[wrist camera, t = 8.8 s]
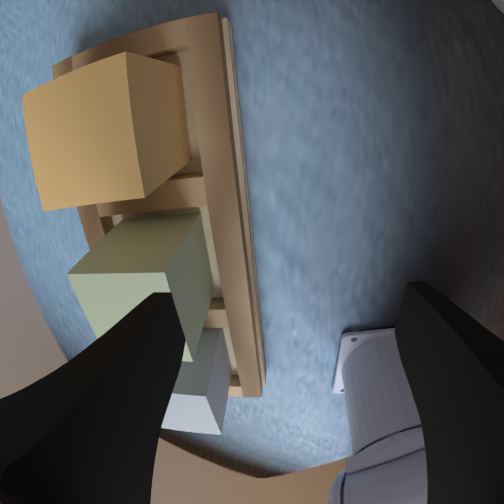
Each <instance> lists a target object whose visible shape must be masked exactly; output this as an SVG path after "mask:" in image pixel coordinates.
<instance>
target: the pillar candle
mask: <svg viewBox="0 0 504 504" xmlns="http://www.w3.org/2000/svg"><path fill="white" fill-rule="evenodd" d="M491 1H492V2H493V4H494V5H495V6H496V7H497V8H498V9H499V10H500V11H501V12H502V13H503V14H504V0H491Z"/></svg>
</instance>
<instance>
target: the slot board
mask: <svg viewBox="0 0 504 504" xmlns="http://www.w3.org/2000/svg"><path fill="white" fill-rule="evenodd" d="M123 52H129V53H134V54H138V55H142V56H145V57H149V58H153V59H157V60H160V61H164V62H167V63H170V64H174V65H177V66H180V67H182V74H183V85H184V95H185V105H186V115H187V124H188V133H189V141H190V149H191V157H192V161H191V162H189V163H188V164H187V165H185V166H184V167H183V168H181V169H180V170H179V171H178V172H176V173H175V174H174V175H172V176H171V177H170V178H169V179H167V180H166V181H165V182H164V183H162V184H161V185H160V186H159V187H158V188H156V189H155V190H154V191H153V192H151V193H150V194H149V195H148V196H147V197H145V198H139V199H130V200H122V201H113V202H105V203H98V204H90V205H83V206H77V209H78V213H79V216H80V220H81V223H82V226H83V230H84V233H85V236H86V239H87V242H88V245H89V248H90V250H91V249H92V248H93V247H94V246H95V245H96V244H97V243H98V242H99V241H100V240H101V239H102V238H103V237H104V236H105V235H106V234H107V233H108V232H110V231H111V230H112V229H113V228H114V227H115V226H116V225H117V224H118V223H119V222H120V221H121V220H123V219H133V218H143V217H153V216H164V215H175V214H186V213H199V212H201V215H202V221H203V227H204V232H205V238H206V244H207V249H208V255H209V260H210V265H211V271H212V276H213V281H214V286H215V289H214V292H213V296H212V299H211V302H210V306H209V309H208V312H207V316H206V319H205V322H204V326H203V328H223V330H224V335H225V340H226V344H227V349H228V353H229V358H230V362H231V367H232V373H231V379H230V385H229V391H228V396H232V397H262V386H266V364H265V354H264V343H263V333H262V323H261V313H260V303H259V292H258V282H257V272H256V262H255V252H254V242H253V232H252V222H251V212H250V202H249V192H248V182H247V173H246V163H245V153H244V143H243V133H242V124H241V114H240V104H239V94H238V85H237V75H236V65H235V56H234V46H233V37H232V27H231V23H230V22H229V20H228V19H227V18H221V17H220V15H219V14H218V12H213V13H207V14H202V15H196V16H191V17H187V18H182V19H178V20H174V21H170V22H166V23H162V24H158V25H155V26H151V27H148V28H144V29H141V30H138V31H135V32H132V33H129V34H126V35H123V36H120V37H117V38H114V39H112V40H109V41H106V42H104V43H101V44H99V45H96V46H94V47H92V48H89V49H87V50H85V51H82V52H80V53H78V54H76V55H74V56H71V57H69V58H67V59H65V60H63V61H61V62H59V63H57V64H55V65H53V66H52V70H53V79H56V78H58V77H60V76H62V75H64V74H67V73H69V72H71V71H74V70H76V69H78V68H81V67H83V66H86V65H88V64H91V63H94V62H96V61H99V60H102V59H105V58H108V57H110V56H113V55H116V54H119V53H123Z"/></svg>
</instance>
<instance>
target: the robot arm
mask: <svg viewBox="0 0 504 504" xmlns="http://www.w3.org/2000/svg"><path fill="white" fill-rule="evenodd" d="M353 337H355V338H353ZM185 342H186V338H185V335H184V332H183V329H182V326H181V323H180V320H179V316H178V313H177V310H176V307H175V303H174V300H173V297H172V293H171V292H153V293H152V294H151V295H149V296H148V297H147V298H145V299H144V300H143V301H142V302H140V303H139V304H138V305H137V306H136V307H135V308H133V309H132V310H131V311H130V312H129V313H128V314H127V315H125V316H124V317H123V318H122V319H121V320H120V321H118V322H117V323H116V324H115V325H114V326H113V327H111V328H110V329H109V330H108V331H107V332H106V333H104V334H103V335H102V336H101V337H99V338H98V339H97V340H96V341H94V342H93V343H92V344H91V345H89V346H88V347H87V348H86V349H84V350H83V351H82V352H81V353H79V354H78V355H77V356H75V357H74V358H73V359H71V360H70V361H68V362H67V363H66V364H64V365H62V366H61V367H59V368H58V369H57V370H55V371H53V372H52V373H50V374H49V375H47V376H45V377H43V378H41V379H40V380H38V381H36V382H34V383H33V384H31V385H29V386H28V387H26V388H24V389H22V390H19V391H18V392H15V393H13V394H11V395H9V396H6V397H4V398H2V399H0V504H150V499H151V487H152V477H153V469H154V462H155V455H156V450H157V444H158V439H159V434H160V430H161V426H162V423H163V420H164V416H165V413H166V410H167V407H168V404H169V401H170V398H171V395H172V392H173V389H174V386H175V383H176V380H177V377H178V374H179V371H180V368H181V363H182V358H183V353H184V347H185ZM332 390H333V393H335V394H339V393H345V400H346V406H347V414H348V421H349V429H350V437H351V445H352V454H353V456H351V457H348V458H346V459H345V463H346V470H343V471H341V472H340V473H339V474H338V475H337V477H336V478H335V481H334V482H333V484H332V486H331V488H330V492H329V501H328V504H504V341H503V340H501V339H500V338H498V337H497V336H496V335H494V334H493V333H492V332H490V331H489V330H488V329H486V328H485V327H484V326H482V325H481V324H480V323H478V322H477V321H476V320H475V319H473V318H472V317H471V316H469V315H468V314H467V313H466V312H464V311H463V310H462V309H461V308H459V307H458V306H457V305H456V304H454V303H453V302H452V301H451V300H449V299H448V298H447V297H445V296H444V295H443V294H441V293H440V292H439V291H437V290H436V289H435V288H433V287H432V286H431V285H429V284H428V283H426V282H424V281H418V282H407V284H406V288H405V292H404V297H403V301H402V305H401V309H400V313H399V316H398V320H397V324H396V327H395V328H388V329H379V330H369V331H358V332H347V333H344V334H343V335H342V336H341V341H340V348H339V354H338V360H337V366H336V371H335V377H334V382H333V388H332Z"/></svg>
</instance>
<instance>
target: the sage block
mask: <svg viewBox="0 0 504 504" xmlns="http://www.w3.org/2000/svg"><path fill="white" fill-rule="evenodd" d="M67 275H68V278H69V280H70V283H71V285H72V287H73V289H74V292H75V294H76V296H77V298H78V301H79V303H80V305H81V307H82V309H83V311H84V313H85V315H86V317H87V319H88V321H89V323H90V325H91V327H92V329H93V331H94V333H95V335H96V337H97V339H98V338H99V337H101V336H102V335H103V334H104V333H106V332H107V331H108V330H109V329H110V328H111V327H113V326H114V325H115V324H116V323H117V322H118V321H120V320H121V319H122V318H123V317H124V316H125V315H127V314H128V313H129V312H130V311H131V310H132V309H133V308H135V307H136V306H137V305H138V304H139V303H140V302H142V301H143V300H144V299H145V298H147V297H148V296H149V295H151V294H152V293H153V292H171V293H172V297H173V300H174V303H175V307H176V310H177V313H178V316H179V320H180V323H181V326H182V329H183V332H184V335H185V338H186V342H185V347H184V353H183V358H182V361H187V362H193V360H194V357H195V353H196V350H197V346H198V343H199V339H200V336H201V333H202V329H203V326H204V322H205V319H206V316H207V312H208V309H209V306H210V302H211V299H212V296H213V292H214V289H215V286H214V281H213V276H212V271H211V265H210V260H209V255H208V249H207V244H206V238H205V232H204V227H203V221H202V215H201V212H199V213H186V214H175V215H164V216H153V217H143V218H133V219H123V220H121V221H120V222H119V223H118V224H117V225H116V226H115V227H114V228H113V229H112V230H111V231H110V232H108V233H107V234H106V235H105V236H104V237H103V238H102V239H101V240H100V241H99V242H98V243H97V244H96V245H95V246H94V247H93V248H92V249H91V250H90V251H89V252H88V253H87V254H86V255H85V256H84V257H83V258H82V259H81V260H80V261H79V262H78V263H77V264H76V265H75V266H74V267H73V268H72V269H71V270H70V271H69V272H68V273H67Z"/></svg>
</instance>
